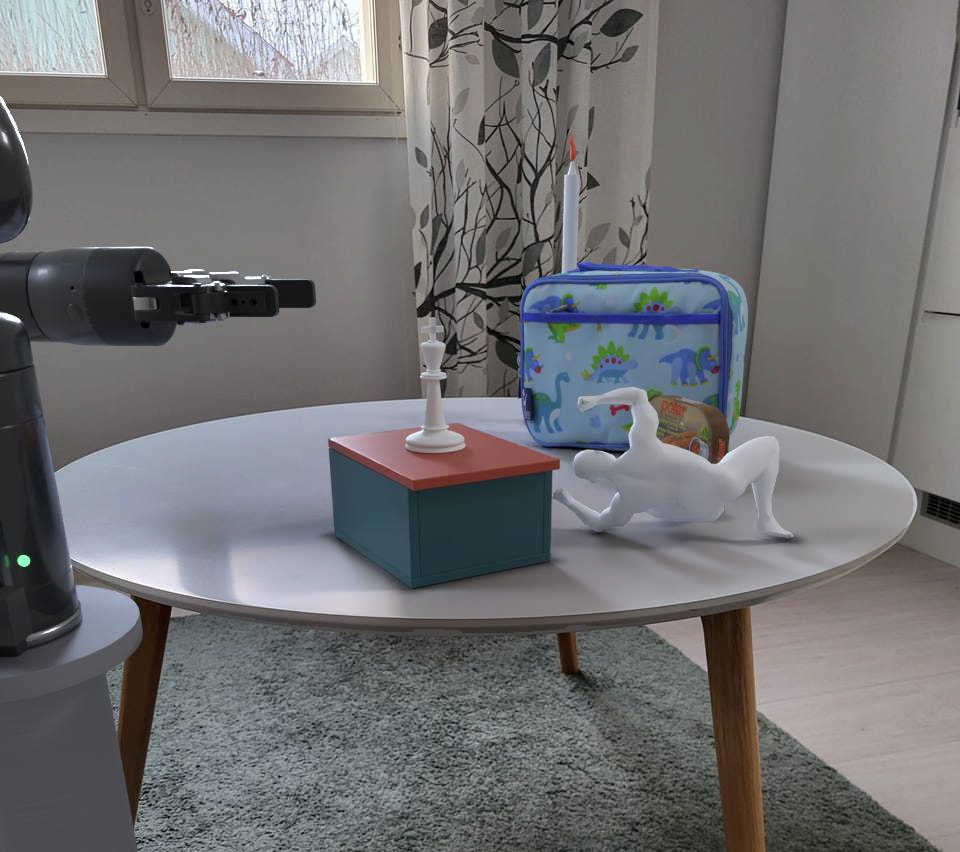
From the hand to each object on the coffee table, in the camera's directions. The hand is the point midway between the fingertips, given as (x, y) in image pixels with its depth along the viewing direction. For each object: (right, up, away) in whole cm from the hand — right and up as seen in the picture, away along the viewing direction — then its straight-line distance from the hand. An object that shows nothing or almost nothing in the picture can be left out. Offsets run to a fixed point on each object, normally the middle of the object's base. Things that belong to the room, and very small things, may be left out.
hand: (296, 297), depth 75 cm
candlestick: (+26, +3, +56) cm, 62 cm away
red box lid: (+11, -12, +3) cm, 17 cm away
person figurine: (+31, -18, +10) cm, 37 cm away
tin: (+36, -10, +28) cm, 46 cm away
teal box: (+11, -19, +7) cm, 23 cm away
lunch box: (+32, -4, +42) cm, 53 cm away
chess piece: (+11, -11, +3) cm, 16 cm away
